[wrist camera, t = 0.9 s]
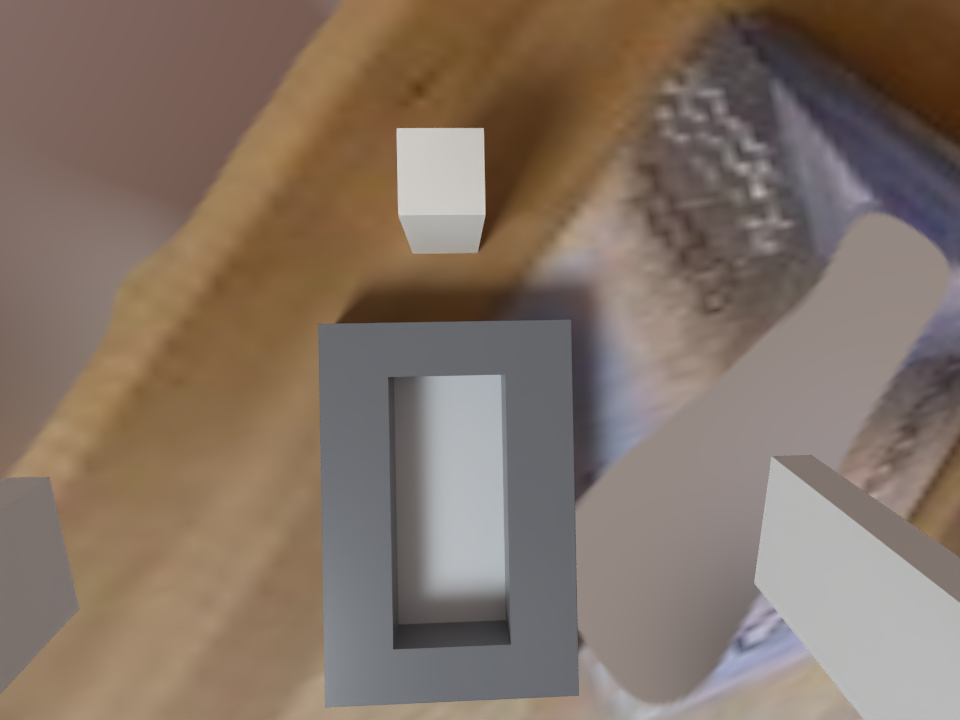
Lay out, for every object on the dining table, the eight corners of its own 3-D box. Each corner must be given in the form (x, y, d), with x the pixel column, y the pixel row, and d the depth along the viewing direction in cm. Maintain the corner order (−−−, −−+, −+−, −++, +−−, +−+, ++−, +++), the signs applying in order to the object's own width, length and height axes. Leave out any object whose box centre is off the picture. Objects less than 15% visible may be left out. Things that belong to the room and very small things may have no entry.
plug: (477, 252, 35) (485, 214, 26) (412, 253, 35) (398, 215, 26) (476, 188, 35) (483, 128, 26) (411, 188, 35) (396, 128, 26)
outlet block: (566, 662, 35) (578, 695, 32) (338, 672, 34) (325, 707, 31) (559, 323, 35) (571, 319, 32) (332, 327, 35) (318, 323, 31)
